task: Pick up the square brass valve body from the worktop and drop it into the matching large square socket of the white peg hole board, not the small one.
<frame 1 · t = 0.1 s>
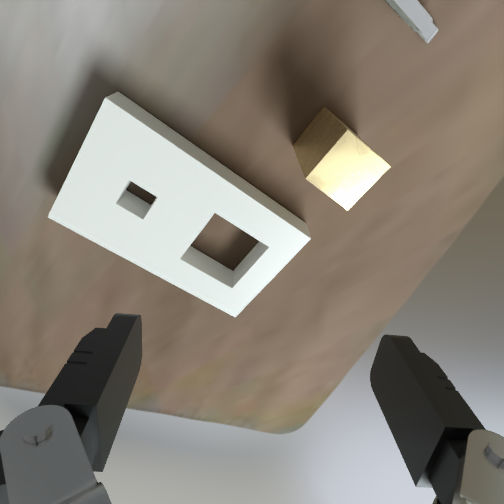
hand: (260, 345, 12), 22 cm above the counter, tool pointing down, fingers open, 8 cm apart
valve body: (325, 140, 30), on the counter
white peg hole board: (187, 213, 34), on the counter
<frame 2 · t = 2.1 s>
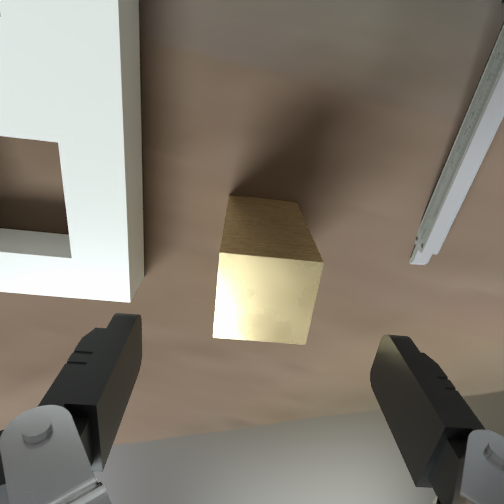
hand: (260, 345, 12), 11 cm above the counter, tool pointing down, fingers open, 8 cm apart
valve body: (258, 229, 21), on the counter
caliper: (464, 90, 19), on the counter
white peg hole board: (23, 98, 18), on the counter
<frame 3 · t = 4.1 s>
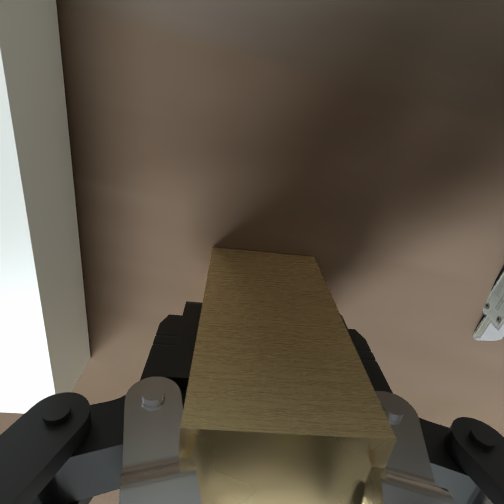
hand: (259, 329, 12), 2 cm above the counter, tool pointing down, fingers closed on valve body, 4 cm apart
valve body: (257, 295, 14), on the counter, touching gripper
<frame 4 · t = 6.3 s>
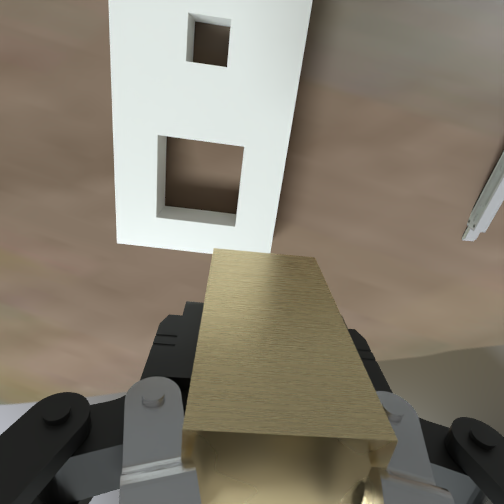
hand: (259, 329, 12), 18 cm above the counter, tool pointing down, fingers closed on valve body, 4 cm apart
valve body: (258, 296, 14), point 16 cm above the counter, touching gripper
white peg hole board: (207, 114, 26), on the counter
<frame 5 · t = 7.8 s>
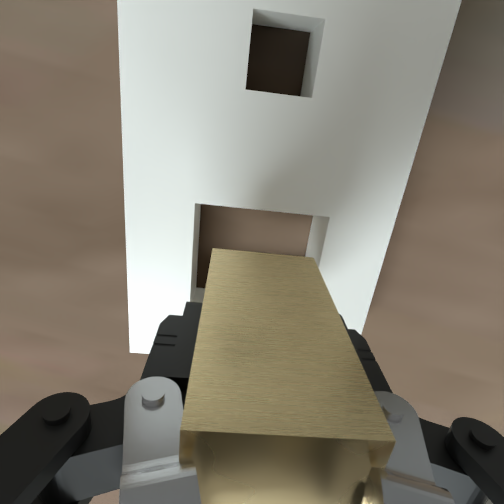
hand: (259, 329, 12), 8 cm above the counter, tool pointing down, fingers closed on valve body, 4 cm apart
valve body: (257, 296, 14), point 5 cm above the counter, touching gripper
white peg hole board: (263, 163, 17), on the counter
when the fingers open (4 cm above the counter, at t = 8.8 s): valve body drops 2 cm, resting in white peg hole board.
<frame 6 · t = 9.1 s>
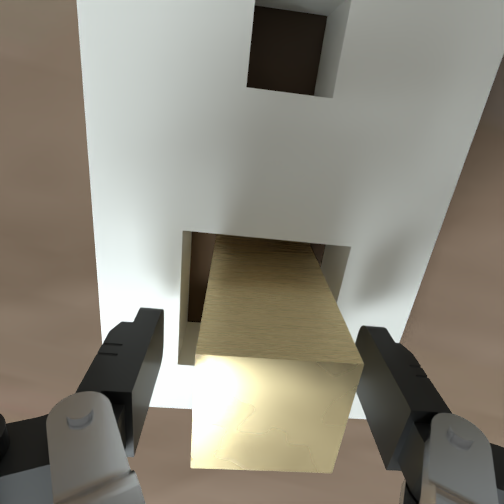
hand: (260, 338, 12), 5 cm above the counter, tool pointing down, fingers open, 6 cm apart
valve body: (257, 274, 16), resting in white peg hole board
white peg hole board: (268, 177, 14), on the counter
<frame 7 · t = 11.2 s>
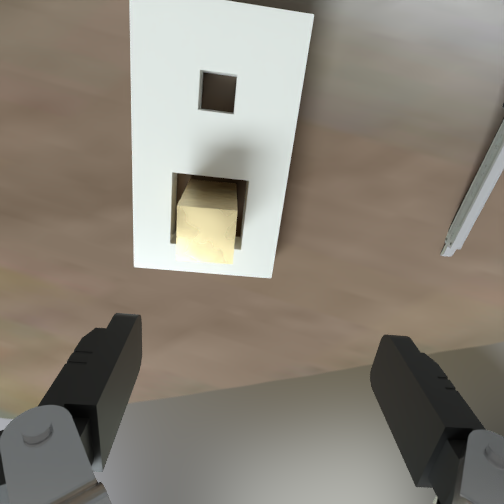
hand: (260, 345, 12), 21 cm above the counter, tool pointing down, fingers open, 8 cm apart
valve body: (211, 203, 31), resting in white peg hole board
caliper: (478, 149, 31), on the counter
white peg hole board: (214, 151, 29), on the counter
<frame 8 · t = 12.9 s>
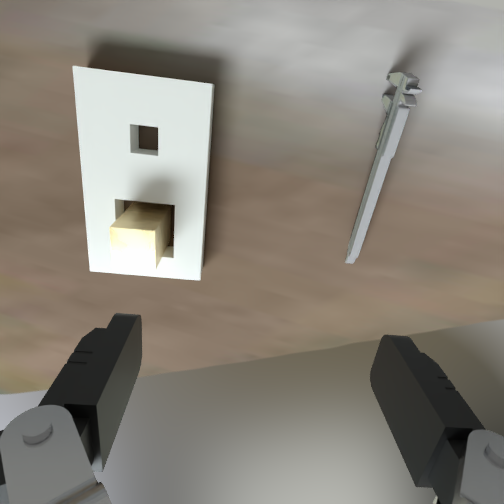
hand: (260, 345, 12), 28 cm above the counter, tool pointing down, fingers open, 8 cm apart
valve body: (153, 220, 39), resting in white peg hole board
caliper: (366, 177, 38), on the counter
white peg hole board: (151, 180, 37), on the counter
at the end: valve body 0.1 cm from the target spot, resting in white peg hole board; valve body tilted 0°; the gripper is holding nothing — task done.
